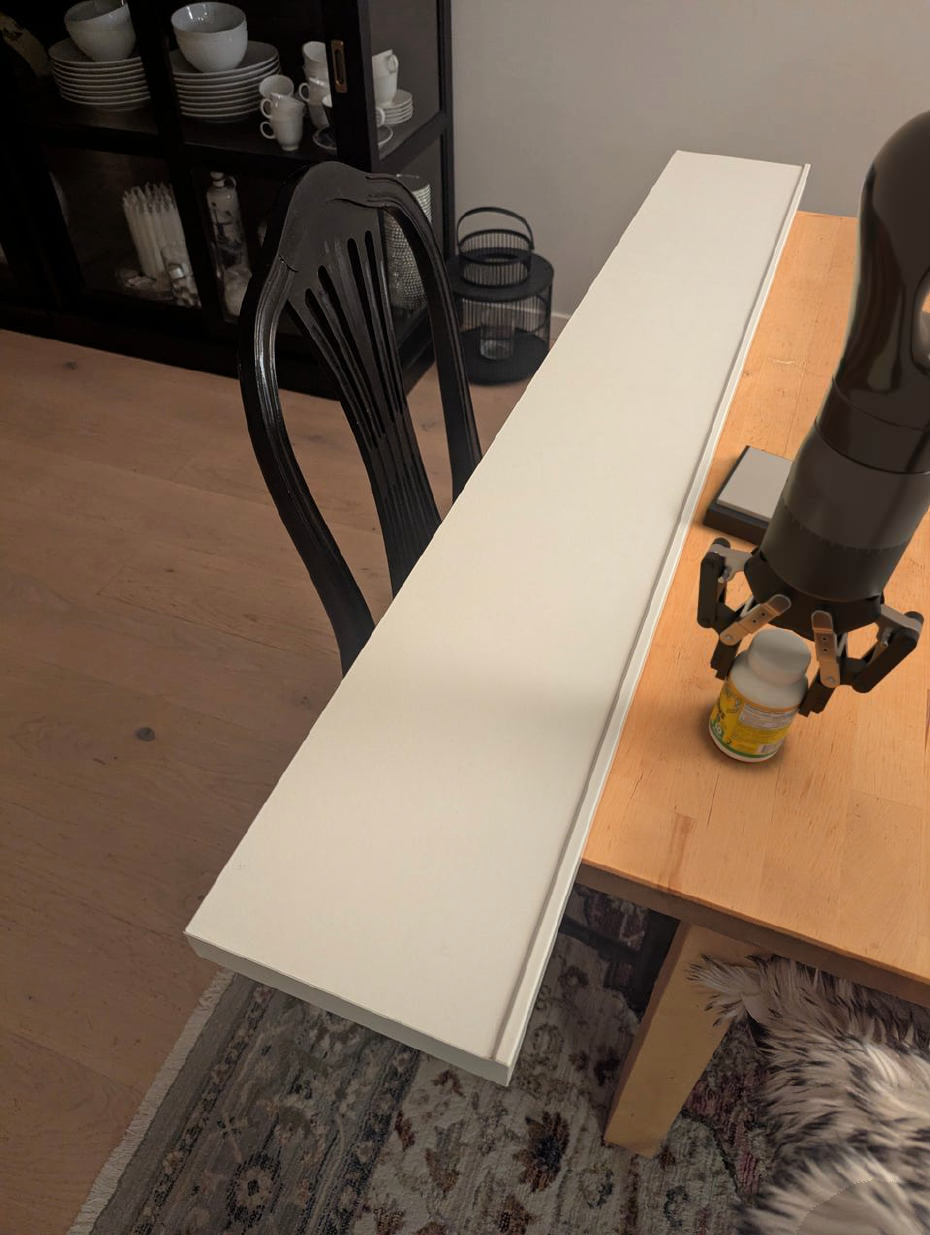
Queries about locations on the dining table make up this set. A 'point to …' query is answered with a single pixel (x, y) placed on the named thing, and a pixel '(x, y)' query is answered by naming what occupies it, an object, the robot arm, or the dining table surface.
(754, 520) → the scale
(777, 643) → the supplement bottle
